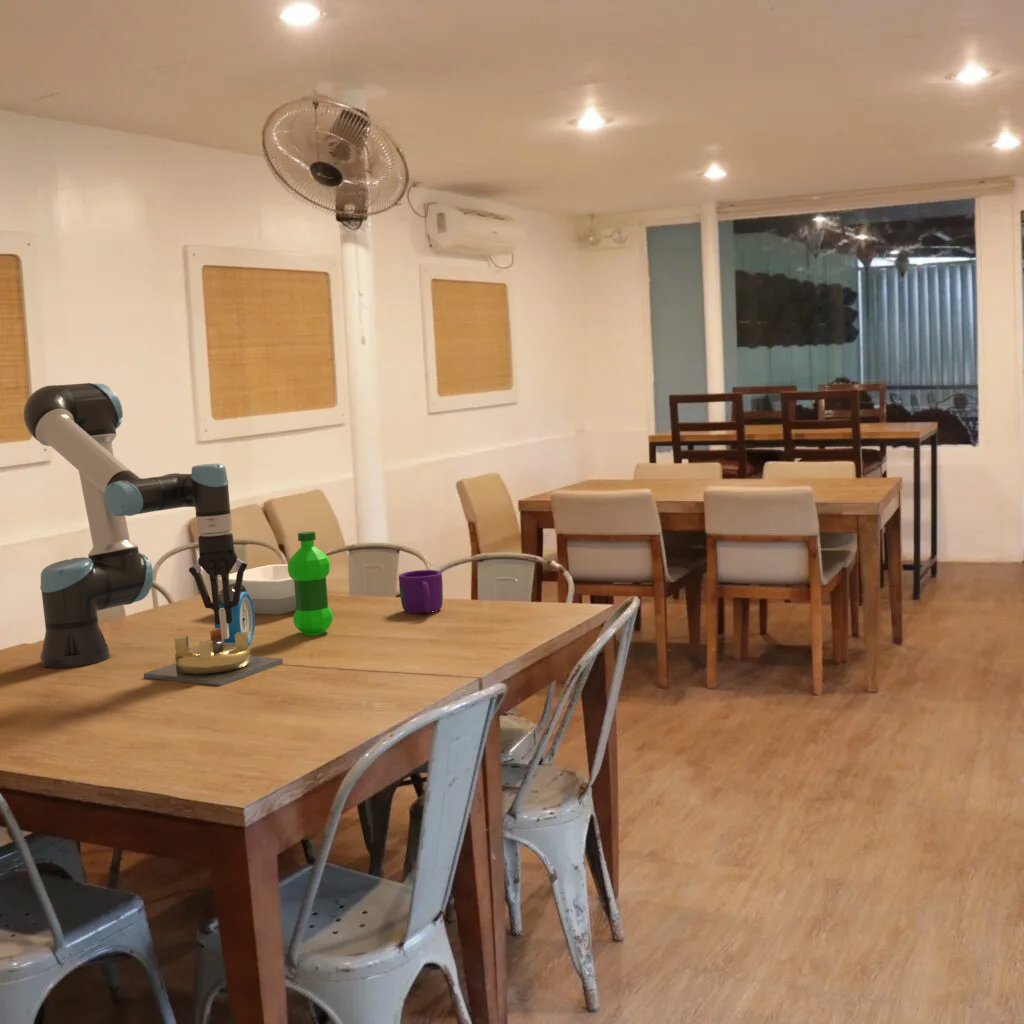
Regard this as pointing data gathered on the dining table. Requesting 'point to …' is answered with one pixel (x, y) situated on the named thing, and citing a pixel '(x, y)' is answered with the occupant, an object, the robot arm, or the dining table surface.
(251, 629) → the alarm clock
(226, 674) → the spindle plate
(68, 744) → the dining table surface
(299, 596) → the plastic bottle
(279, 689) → the dining table surface
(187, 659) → the notched brass disc
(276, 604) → the bowl
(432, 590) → the mug
